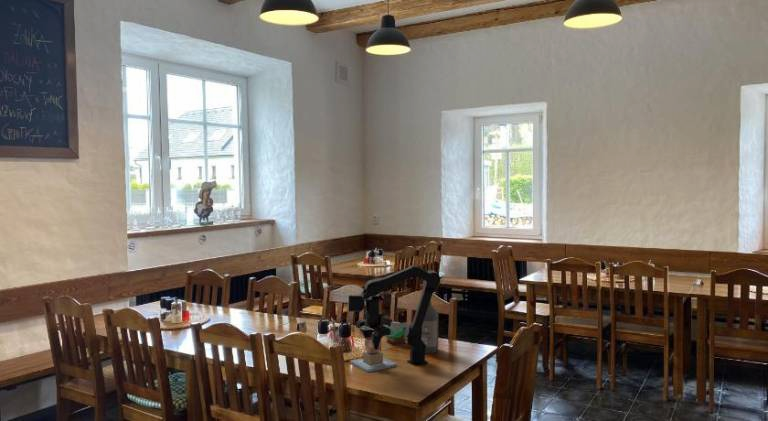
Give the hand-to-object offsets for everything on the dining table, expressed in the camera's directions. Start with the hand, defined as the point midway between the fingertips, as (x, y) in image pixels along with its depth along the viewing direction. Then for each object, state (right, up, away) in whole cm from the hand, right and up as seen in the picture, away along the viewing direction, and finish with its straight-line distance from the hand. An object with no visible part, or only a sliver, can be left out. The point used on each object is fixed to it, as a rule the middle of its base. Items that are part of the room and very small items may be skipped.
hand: (373, 348), depth 251 cm
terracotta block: (0, -1, 0) cm, 1 cm away
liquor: (+24, -6, +20) cm, 32 cm away
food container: (+9, -5, +32) cm, 34 cm away
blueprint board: (0, -7, 0) cm, 7 cm away
